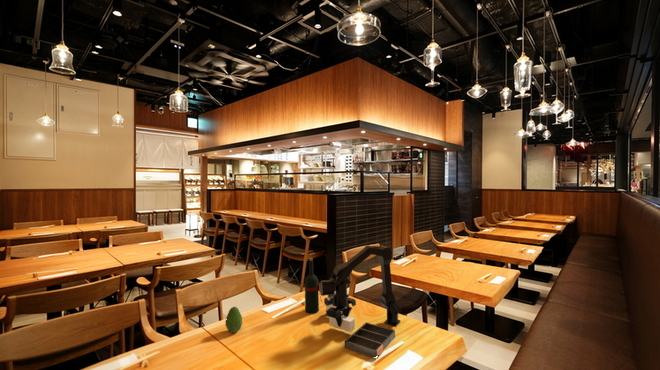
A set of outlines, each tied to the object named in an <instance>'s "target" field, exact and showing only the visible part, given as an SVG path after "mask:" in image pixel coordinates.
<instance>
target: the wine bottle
mask: <svg viewBox="0 0 660 370" xmlns="http://www.w3.org/2000/svg"><path fill="white" fill-rule="evenodd" d="M313 259H314V258H312V257H310V258H309V260H308V264H309V265H308V269H309V271H308V275H307V276H306V277H305V278H304V311H305V313H306V314H311V315H312V314H313V313H315V314H317V313H319V311H320V301H321V302H323V299H322V296H321V295H320V294H319V293H320V284H321V282H319V279H318V276H317V275H315V274H314V260H313ZM319 298H320V300H319ZM313 315H314V314H313Z"/></svg>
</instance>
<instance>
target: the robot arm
mask: <svg viewBox="0 0 660 370" xmlns="http://www.w3.org/2000/svg"><path fill="white" fill-rule="evenodd" d="M370 256H377V259H378V261H379V263H380V270H381V271H380V272H381V283H382V292H381V293H379V302H380V304H381V305H382V306H383V308H384V309H386V320H385V321H384V322H383V323H384V324H386V325H389V326H394V327H397V326H398V325H399V324H400V322H401V320H400V319H399V314H401V312H402V308H401V307H400V306H399V305H398V303H397V299H396V296H395V293H394V292H393V285H392V284H393V283H392V273H391V263H392V260H393V250H392V249H391V248H390V247H387V246H385V245H379V246H378V245H377V246H376V245H370V244H369V245H365V246H364V247H363V248H362V249H361V250H360V251H359V252H358V253H356V254H354V256H352V257H350V258H349V260H347V261H346V262H343V263H339V264H338V265H337V266H335V267H334V268H333V273H332V274H331V276H330V277H329V279H327V280H320V292H319V295H320V296H321V297H323V296H324V298H323V301H324V302H323V303H324V305H325V306H326V305H327V306H329V305H333V306H336V308H333V307H331V308H329V309H328V310H327V311H326V310H325V316H329V317H332V318H335V319H336V321H337V324H338V326H339V327H341V324H342V320H343V316H347V317H350V316H349V315H350V314H351V311H352V310H353V307H355V306H356V305H357V301H356V299H355V298H353V297H352V298H351V297H350V294H349V293H348V284H351V283H352V281H350V279H349V277H350V276H351V274H352V272H353V270H355V268H357V267H359V265H361V263H363V262H364V261H366V259H368V258H369V257H370ZM334 293H335V295H334V296H331V297H328V295H331V294H334ZM325 296H327V297H325ZM350 304H351V306H350Z"/></svg>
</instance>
